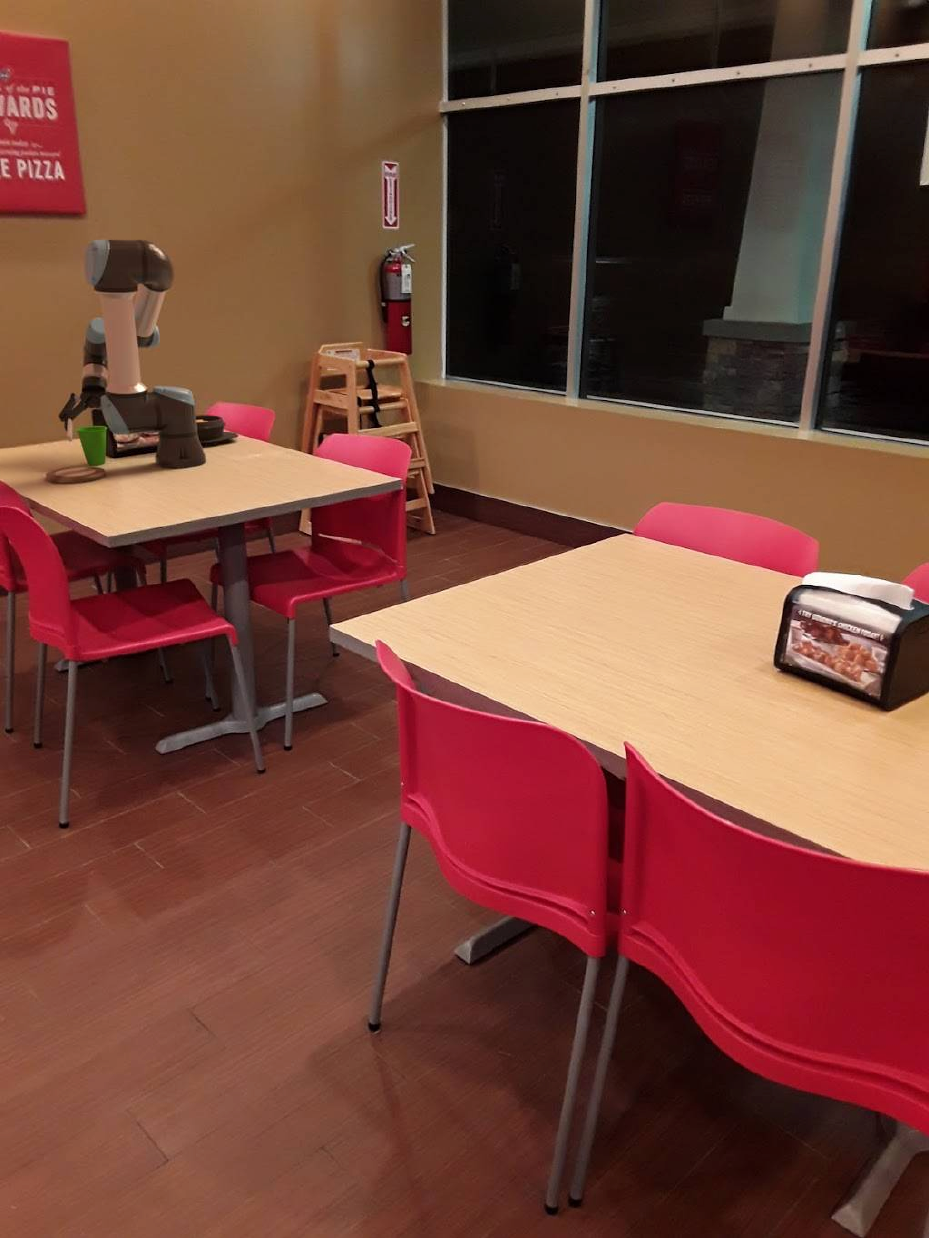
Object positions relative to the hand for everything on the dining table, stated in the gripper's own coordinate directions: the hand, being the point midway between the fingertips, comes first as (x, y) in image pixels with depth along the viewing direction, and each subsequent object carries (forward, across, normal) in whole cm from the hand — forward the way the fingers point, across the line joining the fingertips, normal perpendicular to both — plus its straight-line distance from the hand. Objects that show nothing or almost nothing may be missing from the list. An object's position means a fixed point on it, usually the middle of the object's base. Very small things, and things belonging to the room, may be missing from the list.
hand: (92, 438), depth 291 cm
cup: (+7, 0, -4) cm, 8 cm away
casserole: (-14, -30, -25) cm, 41 cm away
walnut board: (+20, +2, +9) cm, 22 cm away
